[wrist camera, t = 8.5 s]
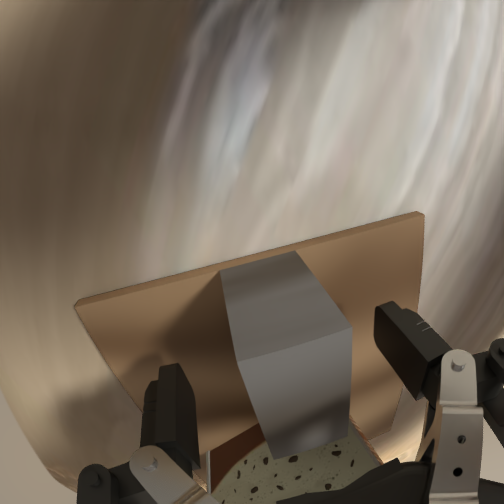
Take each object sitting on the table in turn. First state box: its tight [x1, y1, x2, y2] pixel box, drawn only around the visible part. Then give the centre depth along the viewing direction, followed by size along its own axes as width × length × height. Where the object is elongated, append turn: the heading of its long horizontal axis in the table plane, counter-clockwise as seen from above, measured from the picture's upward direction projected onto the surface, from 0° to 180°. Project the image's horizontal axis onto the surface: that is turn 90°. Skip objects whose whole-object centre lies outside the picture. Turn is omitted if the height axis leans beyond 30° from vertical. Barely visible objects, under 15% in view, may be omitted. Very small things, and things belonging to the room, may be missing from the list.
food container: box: [206, 413, 384, 504], centre depth 13 cm, size 12×6×10 cm, turn 133°
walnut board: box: [75, 211, 425, 484], centre depth 14 cm, size 19×16×6 cm
